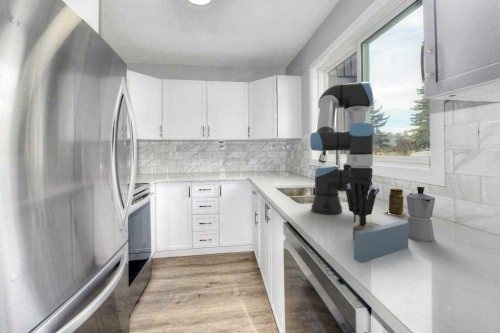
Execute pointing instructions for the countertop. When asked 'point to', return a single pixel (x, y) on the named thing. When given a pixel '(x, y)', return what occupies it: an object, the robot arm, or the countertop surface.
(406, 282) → the countertop surface
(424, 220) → the coffee maker
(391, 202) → the condiment
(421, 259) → the countertop surface
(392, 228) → the slate board
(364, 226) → the walnut block
